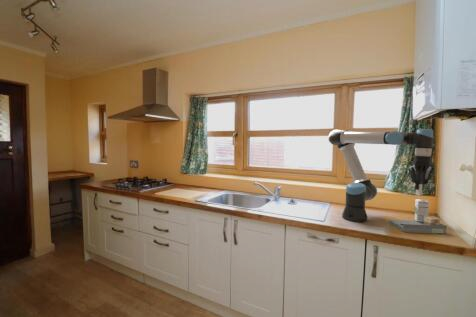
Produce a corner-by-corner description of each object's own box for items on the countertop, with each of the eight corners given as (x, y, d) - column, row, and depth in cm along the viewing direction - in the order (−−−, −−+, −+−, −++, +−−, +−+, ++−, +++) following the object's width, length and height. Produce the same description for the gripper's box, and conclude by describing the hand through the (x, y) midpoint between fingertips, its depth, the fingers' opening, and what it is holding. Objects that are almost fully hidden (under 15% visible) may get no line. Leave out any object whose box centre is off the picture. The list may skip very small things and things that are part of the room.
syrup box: (428, 224, 140) (429, 201, 139) (416, 223, 143) (418, 200, 142) (424, 221, 145) (426, 199, 145) (413, 220, 148) (415, 198, 147)
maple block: (430, 227, 128) (430, 219, 128) (423, 224, 133) (424, 216, 133) (439, 227, 128) (439, 219, 127) (432, 224, 133) (432, 216, 132)
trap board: (403, 232, 127) (404, 224, 127) (388, 223, 141) (388, 216, 141) (445, 233, 126) (446, 225, 126) (426, 224, 140) (426, 217, 140)
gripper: (415, 155, 127) (411, 196, 129) (439, 156, 126) (434, 197, 128) (406, 154, 134) (402, 192, 137) (429, 155, 134) (424, 193, 136)
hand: (418, 194), depth 133 cm, fingers closed
